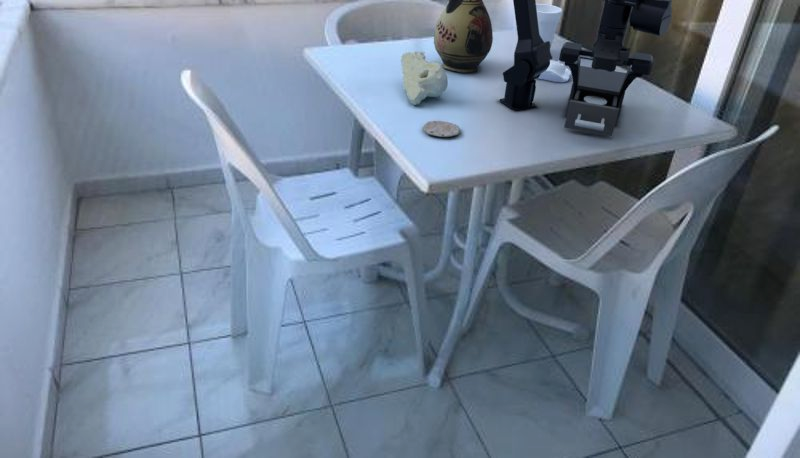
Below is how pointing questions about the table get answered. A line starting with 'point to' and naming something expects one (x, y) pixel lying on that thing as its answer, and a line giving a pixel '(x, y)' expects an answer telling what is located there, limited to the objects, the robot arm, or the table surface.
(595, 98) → the coffee pod
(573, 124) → the drawer
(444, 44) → the ceramic jug
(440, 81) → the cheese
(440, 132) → the flatbread
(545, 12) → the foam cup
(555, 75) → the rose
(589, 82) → the mini drawer cabinet
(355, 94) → the table surface
